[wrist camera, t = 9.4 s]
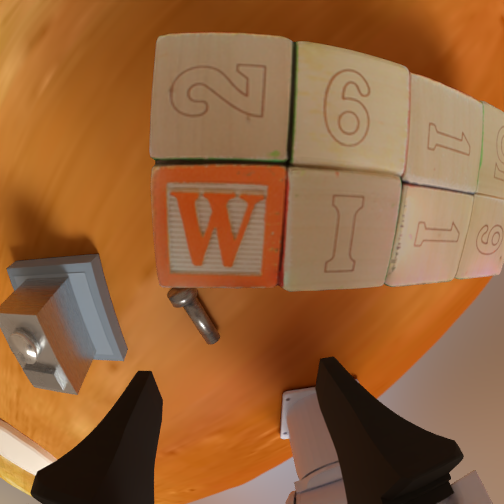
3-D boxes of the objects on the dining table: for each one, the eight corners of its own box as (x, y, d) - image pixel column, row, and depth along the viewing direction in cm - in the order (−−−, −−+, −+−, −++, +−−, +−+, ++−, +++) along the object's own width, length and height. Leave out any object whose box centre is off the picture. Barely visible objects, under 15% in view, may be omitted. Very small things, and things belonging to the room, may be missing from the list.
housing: (96, 351, 20) (74, 402, 15) (56, 348, 20) (30, 393, 15) (69, 276, 18) (30, 323, 12) (27, 278, 17) (-13, 319, 12)
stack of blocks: (465, 141, 18) (583, 172, 7) (455, 210, 20) (562, 271, 9) (198, 96, 16) (150, 29, 4) (196, 193, 18) (152, 294, 7)
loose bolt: (224, 330, 22) (225, 346, 20) (202, 337, 22) (201, 354, 21) (193, 277, 20) (191, 291, 18) (169, 287, 20) (165, 301, 19)
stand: (127, 349, 22) (123, 361, 21) (49, 345, 22) (43, 355, 20) (98, 253, 19) (90, 262, 17) (15, 261, 18) (6, 268, 17)
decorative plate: (-25, 443, 29) (-47, 400, 22) (-19, 432, 32) (-38, 385, 25) (62, 495, 36) (66, 474, 29) (65, 482, 39) (71, 457, 33)
